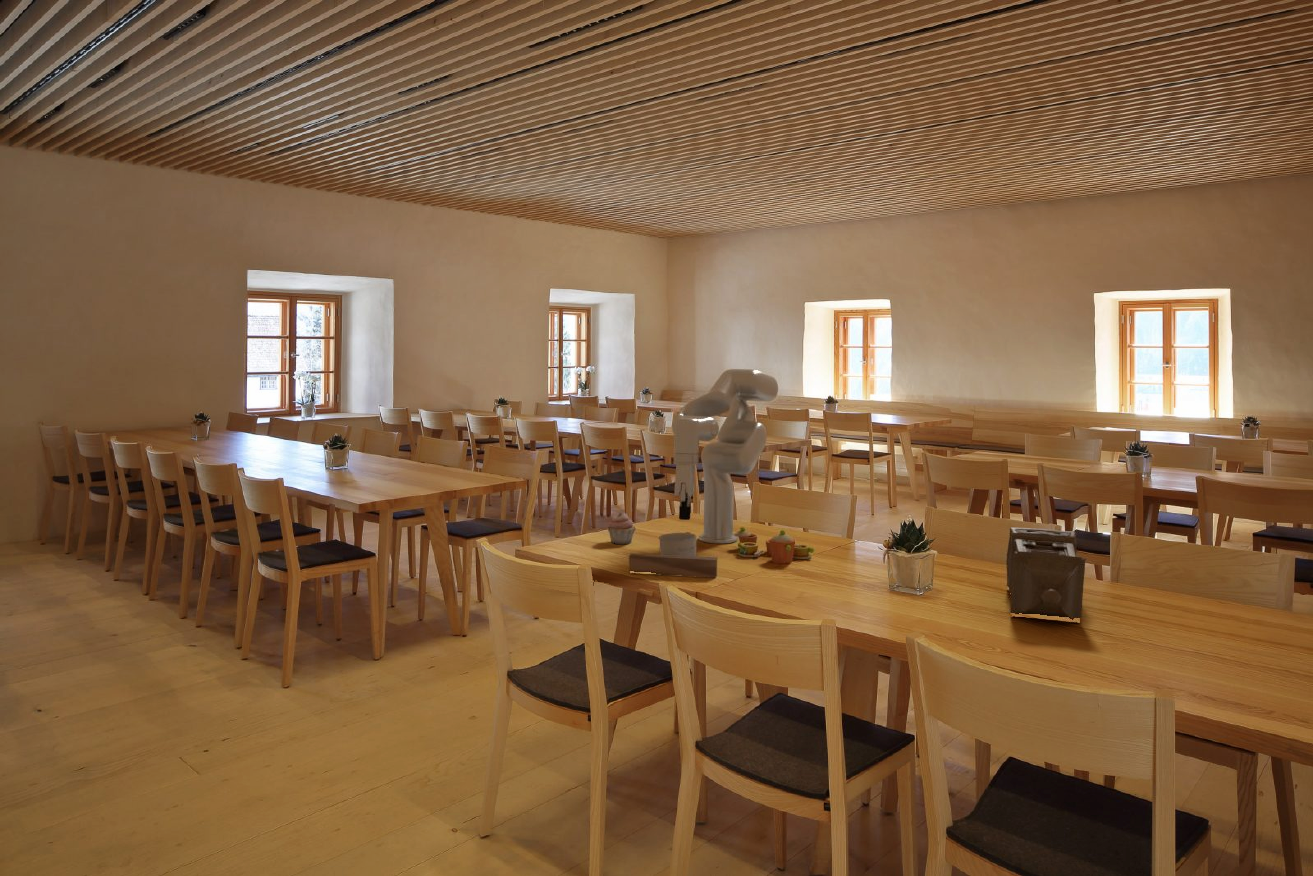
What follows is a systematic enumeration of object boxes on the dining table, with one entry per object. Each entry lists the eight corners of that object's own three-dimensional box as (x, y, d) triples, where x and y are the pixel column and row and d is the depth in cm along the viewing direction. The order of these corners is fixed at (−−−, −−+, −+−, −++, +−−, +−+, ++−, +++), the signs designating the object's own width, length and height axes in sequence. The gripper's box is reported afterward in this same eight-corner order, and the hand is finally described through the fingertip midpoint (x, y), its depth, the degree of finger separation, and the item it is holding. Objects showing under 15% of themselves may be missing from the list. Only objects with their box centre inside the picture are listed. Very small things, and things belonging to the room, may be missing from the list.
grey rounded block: (681, 569, 257) (682, 541, 256) (651, 563, 263) (651, 535, 262) (709, 559, 268) (709, 533, 267) (679, 554, 274) (679, 528, 273)
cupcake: (602, 541, 292) (602, 510, 291) (628, 538, 296) (628, 508, 295) (613, 547, 283) (613, 515, 282) (640, 544, 287) (640, 513, 286)
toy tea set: (818, 558, 272) (819, 526, 271) (793, 568, 260) (793, 534, 259) (744, 545, 288) (745, 515, 287) (717, 554, 276) (717, 523, 275)
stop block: (631, 571, 254) (631, 553, 253) (717, 575, 250) (717, 557, 249) (629, 573, 251) (629, 556, 250) (715, 578, 247) (716, 559, 246)
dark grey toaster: (1084, 649, 199) (1102, 569, 196) (999, 629, 205) (1015, 551, 202) (1071, 602, 232) (1085, 533, 229) (998, 587, 238) (1011, 519, 235)
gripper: (677, 456, 281) (675, 514, 282) (670, 460, 266) (668, 522, 268) (701, 457, 280) (699, 516, 281) (695, 461, 265) (694, 524, 266)
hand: (684, 519), depth 274 cm, fingers closed
